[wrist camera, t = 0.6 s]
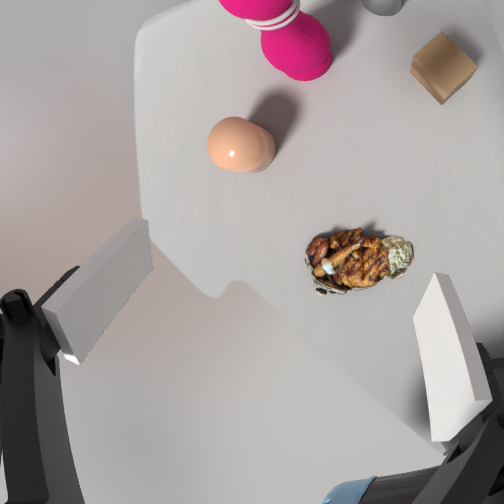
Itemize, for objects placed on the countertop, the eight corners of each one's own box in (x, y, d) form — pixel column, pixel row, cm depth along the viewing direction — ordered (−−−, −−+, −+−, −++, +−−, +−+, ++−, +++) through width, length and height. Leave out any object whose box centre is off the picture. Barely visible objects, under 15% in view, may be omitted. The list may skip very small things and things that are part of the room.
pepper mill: (339, 37, 29) (293, -77, 11) (330, 89, 31) (274, -8, 13) (282, 32, 31) (199, -65, 13) (271, 81, 33) (172, 2, 15)
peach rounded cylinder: (284, 158, 35) (266, 152, 29) (244, 181, 37) (220, 179, 32) (263, 118, 35) (242, 106, 29) (225, 141, 37) (199, 135, 32)
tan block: (466, 82, 25) (478, 67, 20) (441, 105, 27) (450, 92, 22) (436, 50, 25) (442, 31, 21) (409, 72, 27) (413, 55, 23)
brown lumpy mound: (414, 275, 32) (418, 284, 29) (318, 296, 37) (312, 306, 34) (402, 215, 31) (405, 217, 28) (303, 240, 36) (295, 244, 33)
